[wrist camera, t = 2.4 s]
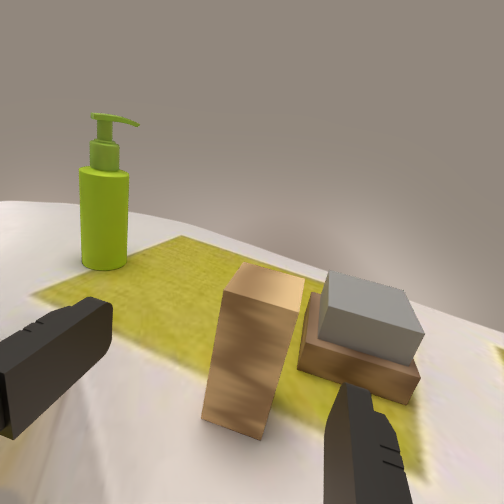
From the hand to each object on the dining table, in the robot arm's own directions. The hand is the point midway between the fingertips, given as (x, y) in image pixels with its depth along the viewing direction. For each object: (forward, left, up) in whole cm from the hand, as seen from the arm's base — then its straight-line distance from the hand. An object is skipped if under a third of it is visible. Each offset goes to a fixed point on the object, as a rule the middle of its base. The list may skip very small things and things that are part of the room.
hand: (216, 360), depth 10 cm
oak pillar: (0, -11, -15) cm, 19 cm away
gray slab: (-10, -24, -11) cm, 28 cm away
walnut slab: (-10, -23, -15) cm, 30 cm away
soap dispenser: (+25, -27, -15) cm, 40 cm away
